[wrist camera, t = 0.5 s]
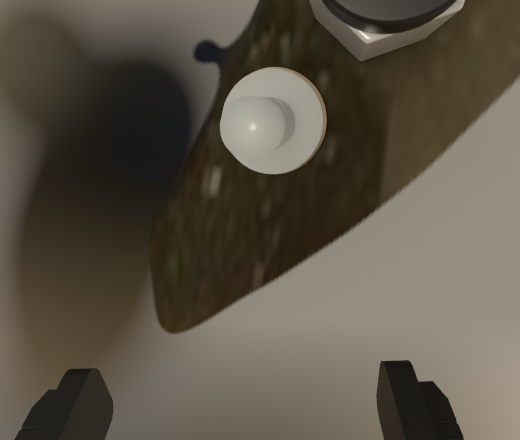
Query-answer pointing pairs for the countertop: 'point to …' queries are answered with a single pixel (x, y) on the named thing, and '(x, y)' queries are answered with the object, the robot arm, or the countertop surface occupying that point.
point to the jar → (382, 22)
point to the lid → (272, 121)
